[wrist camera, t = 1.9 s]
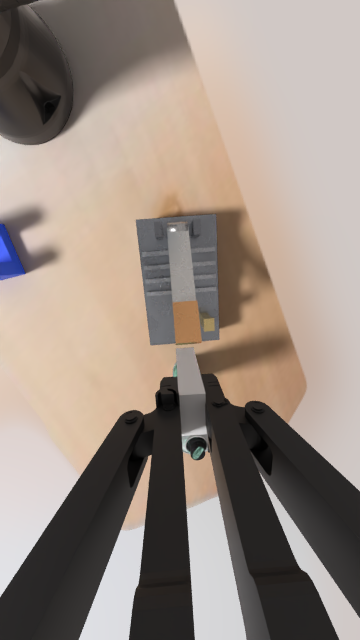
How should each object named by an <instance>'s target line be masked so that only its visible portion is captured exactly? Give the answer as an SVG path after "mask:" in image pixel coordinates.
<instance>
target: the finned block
mask: <svg viewBox="0 0 360 640" xmlns="http://www.w3.org/2000/svg"><path fill="white" fill-rule="evenodd" d="M175 222H187V224H188V229H189V239H190V248H191V257H192V266H193V275H194V284H195V294H196V300H197V302H198V311H199V320H200V329H201V338H202V341H209V340H219V306H218V266H217V227H216V214H210V215H196V216H182V217H168V218H154V219H140V220H136V226H137V235H138V243H139V252H140V260H141V269H142V277H143V286H144V294H145V303H146V311H147V320H148V328H149V337H150V345H161V344H173V343H176V341H175V328H174V315H173V301H172V288H171V275H170V263H169V250H168V237H167V223H175Z"/></svg>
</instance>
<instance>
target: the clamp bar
mask: <svg viewBox="0 0 360 640" xmlns="http://www.w3.org/2000/svg"><path fill="white" fill-rule="evenodd" d="M167 237H168V250H169V263H170V275H171V288H172V301H173V315H174V328H175V341H176V345H183V344H195V343H201V342H202V338H201V329H200V320H199V311H198V302H197V300H196V294H195V284H194V275H193V266H192V257H191V248H190V239H189V229H188V224H187V222H175V223H167Z"/></svg>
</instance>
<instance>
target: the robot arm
mask: <svg viewBox="0 0 360 640" xmlns="http://www.w3.org/2000/svg"><path fill="white" fill-rule="evenodd" d="M36 1H39V0H0V135H1V136H2V137H4V138H6V139H8V140H10V141H12V142H15V143H19V144H24V145H35V144H40V143H44V142H46V141H48V140H50V139H52V138H53V137H54V136H56V135H57V134H58V133H59V132H60V131H61V129H62V128H63V127H64V125H65V124H66V122H67V120H68V117H69V115H70V111H71V108H72V101H73V84H72V78H71V73H70V69H69V66H68V63H67V61H66V58H65V56H64V54H63V52H62V50H61V48H60V46H59V44H58V42H57V41H56V39H55V37H54V35H53V33H52V32H51V30H50V29H49V27H48V26H47V25H46V23H45V22H44V21H43V19H42V18H41V17H40V16H39V15H38V14H37V13H36V12H35V11H34V10H33V9H32V8H31V7H30V6H29V5H28V4H30V3H33V2H36ZM176 359H177V377H164V378H163V379H162V380H161V382H160V390H158V391H157V392H156V394H155V397H156V407H157V408H156V409H155V410H154V411H153V412H151V413H148V414H145V415H143V414H142V413H141V412H140V411H137V410H131V411H128V412H126V413H124V414H122V415H121V416H120V417H119V419H118V420H117V422H116V423H115V425H114V426H113V428H112V430H111V431H110V433H109V434H108V436H107V437H106V439H105V440H104V442H103V443H102V445H101V446H100V448H99V449H98V451H97V452H96V454H95V455H94V457H93V458H92V460H91V461H90V463H89V464H88V466H87V467H86V469H85V470H84V472H83V473H82V475H81V476H80V478H79V479H78V481H77V482H76V484H75V485H74V487H73V488H72V490H71V491H70V493H69V494H68V496H67V498H66V499H65V501H64V502H63V504H62V505H61V507H60V508H59V510H58V511H57V512H56V514H55V516H54V517H53V519H52V520H51V522H50V523H49V525H48V526H47V528H46V529H45V531H44V532H43V534H42V535H41V537H40V538H39V540H38V541H37V543H36V544H35V546H34V547H33V549H32V550H31V552H30V553H29V555H28V556H27V558H26V559H25V561H24V562H23V564H22V565H21V567H20V569H19V570H18V572H17V573H16V574H15V576H14V577H13V579H12V580H11V582H10V584H9V585H8V586H7V588H6V589H5V591H4V592H3V594H2V595H1V597H0V640H79V637H80V634H81V632H82V629H83V627H84V624H85V622H86V619H87V616H88V613H89V611H90V608H91V606H92V603H93V600H94V598H95V595H96V593H97V590H98V587H99V585H100V582H101V580H102V577H103V574H104V572H105V569H106V566H107V564H108V561H109V559H110V556H111V554H112V551H113V548H114V546H115V543H116V541H117V538H118V535H119V533H120V530H121V527H122V525H123V522H124V520H125V517H126V514H127V512H128V509H129V507H130V504H131V501H132V499H133V496H134V493H135V491H136V488H137V486H138V483H139V480H140V478H141V475H142V473H143V470H144V467H145V465H146V462H147V459H148V456H149V455H152V458H151V469H150V479H149V489H148V499H147V509H146V519H145V530H144V539H143V550H142V560H141V570H140V579H139V584H138V586H137V588H136V591H135V595H134V601H133V609H132V617H131V627H130V635H129V640H195V637H194V621H193V605H192V590H191V575H190V558H189V542H188V527H187V511H186V495H185V479H184V463H183V448H182V436H189V435H202V434H207V433H208V452H210V455H211V460H212V465H213V470H214V475H215V480H216V485H217V490H218V495H219V500H220V505H221V510H222V515H223V520H224V525H225V530H226V535H227V540H228V545H229V550H230V555H231V560H232V565H233V570H234V575H235V580H236V585H237V590H238V595H239V600H240V605H241V610H242V615H243V620H244V625H245V631H246V637H247V640H339V638H338V636H337V634H336V632H335V629H334V627H333V625H332V623H331V620H330V618H329V616H328V614H327V611H326V609H325V607H324V605H323V602H322V600H321V598H320V596H319V593H318V591H317V589H316V587H315V586H314V583H313V581H312V580H311V578H310V577H309V575H308V574H307V573H306V572H304V571H303V570H301V569H300V567H299V566H298V564H297V562H296V560H295V557H294V555H293V553H292V550H291V548H290V545H289V543H288V541H287V538H286V536H285V533H284V531H283V529H282V526H281V524H280V522H279V519H278V516H277V514H276V512H275V509H274V507H273V505H272V502H271V500H270V497H269V495H268V492H267V490H266V488H265V485H264V483H263V480H262V478H261V476H260V473H261V474H262V476H263V478H264V479H265V481H266V482H267V483H268V485H269V486H270V488H271V489H272V491H273V492H274V494H275V495H276V497H277V498H278V499H279V501H280V502H281V504H282V505H283V507H284V508H285V510H286V511H287V513H288V514H289V515H290V517H291V518H292V520H293V521H294V523H295V524H296V526H297V527H298V529H299V530H300V532H301V533H302V534H303V536H304V537H305V539H306V540H307V542H308V543H309V545H310V546H311V548H312V549H313V550H314V552H315V553H316V555H317V556H318V558H319V559H320V561H321V562H322V563H323V565H324V567H325V568H326V569H327V571H328V572H329V574H330V575H331V577H332V578H333V579H334V581H335V583H336V584H337V585H338V587H339V588H340V590H341V591H342V593H343V594H344V596H345V597H346V598H347V600H348V601H349V603H350V604H351V606H352V607H353V609H354V610H355V612H356V613H357V615H358V616H359V618H360V491H359V490H358V489H356V487H355V486H353V485H352V484H351V483H350V482H349V481H348V480H347V479H346V478H345V477H344V476H343V475H342V474H341V473H340V472H338V471H337V470H336V469H335V468H334V467H333V466H332V465H331V464H330V463H329V462H328V461H327V460H326V459H325V458H323V457H322V456H321V455H320V454H319V453H318V452H317V451H316V450H315V449H314V448H313V447H312V446H311V445H309V444H308V443H307V442H306V441H305V440H304V439H303V438H302V437H301V436H300V435H299V434H298V433H297V432H296V431H295V430H293V429H292V428H291V427H290V426H289V425H288V424H287V423H286V422H285V421H284V420H283V419H282V418H281V417H280V416H278V415H277V414H276V413H275V412H274V411H273V410H272V409H271V408H270V407H269V406H268V405H266V404H265V403H262V402H260V401H250V402H248V403H246V405H245V407H238V406H234V405H232V404H230V402H229V400H228V399H226V398H225V397H224V394H223V392H222V389H221V387H220V384H219V382H218V379H217V377H216V376H215V375H213V374H200V370H199V367H198V363H197V359H196V355H195V351H194V347H192V348H177V349H176ZM206 429H207V430H206ZM258 470H259V471H258ZM259 472H260V473H259Z"/></svg>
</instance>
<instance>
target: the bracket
mask: <svg viewBox="0 0 360 640" xmlns="http://www.w3.org/2000/svg"><path fill="white" fill-rule="evenodd" d="M23 274H26V273H25V271H24V269H23V266H22V264H21V262H20V260H19V257H18V255H17V253H16V251H15V248H14V246H13V244H12V241H11V239H10V237H9V235H8V232H7V230H6V228H5V225H4V224H0V280H4V279H8V278H12V277H15V276H19V275H23Z"/></svg>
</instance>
